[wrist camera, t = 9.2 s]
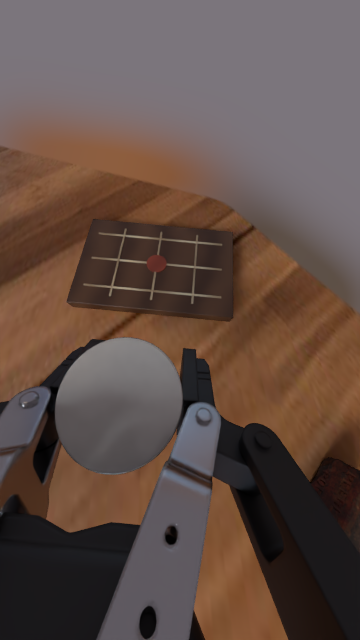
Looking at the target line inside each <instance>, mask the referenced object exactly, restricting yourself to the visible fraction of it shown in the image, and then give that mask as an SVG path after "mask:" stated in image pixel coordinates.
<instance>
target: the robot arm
mask: <svg viewBox="0 0 360 640" xmlns="http://www.w3.org/2000/svg"><path fill="white" fill-rule="evenodd" d="M104 341H106V340H97V339H92V340H90V341H89V343H88V344H87V345H86V346H85V347H80V348H78V349H77V350H75V351H73V352H72V353H71V354H70V355H69V356H68V357H67V358H66V360H64V361H63V362H62V363H61V365H59V366H58V367H57V368H56V369H55V370H54V371H53V373H52V374H51V375H50V376H49V377H48V378H47V379H46V380H45V381H44V382H43V383H42V384H41V385H40V386H37V387H32V388H28V389H26V390H24V391H22V392H20V393H18V394H17V395H15V396H14V397H13V398H12V399H11V400H10V401H6V402H0V640H205V638H204V636H203V633H202V630H201V628H200V625H199V623H198V620H197V617H196V615H195V612H194V603H195V597H196V590H197V584H198V578H199V571H200V565H201V558H202V552H203V545H204V539H205V532H206V526H207V520H208V513H209V507H210V500H211V493H212V476H213V477H215V478H217V479H219V480H221V481H223V482H225V483H227V484H229V486H230V489H231V491H232V494H233V496H234V499H235V502H236V504H237V507H238V509H239V512H240V515H241V517H242V520H243V523H244V525H245V528H246V530H247V533H248V536H249V538H250V541H251V543H252V546H253V549H254V551H255V554H256V556H257V559H258V562H259V564H260V567H261V569H262V572H263V575H264V577H265V580H266V582H267V585H268V588H269V590H270V593H271V595H272V598H273V601H274V603H275V606H276V608H277V611H278V614H279V616H280V619H281V621H282V624H283V627H284V629H285V632H286V634H287V637H288V640H360V553H359V552H358V550H357V549H356V548H355V546H354V545H353V543H352V542H351V540H350V539H349V538H348V536H347V535H346V533H345V532H344V530H343V529H342V528H341V526H340V525H339V523H338V522H337V520H336V519H335V518H334V516H333V515H332V513H331V512H330V511H329V509H328V508H327V506H326V505H325V503H324V502H323V501H322V499H321V498H320V496H319V495H318V493H317V492H316V491H315V489H314V488H313V486H312V485H311V483H310V482H309V481H308V479H307V478H306V476H305V475H304V473H303V472H302V471H301V469H300V468H299V466H298V465H297V463H296V462H295V461H294V459H293V458H292V456H291V455H290V454H289V452H288V451H287V449H286V448H285V446H284V445H283V444H282V442H281V441H280V439H279V438H278V437H277V435H276V434H275V433H274V432H273V431H272V430H270V429H269V428H268V427H266V426H264V425H261V424H258V423H251V424H248V425H247V426H246V427H245V428H243V427H240V426H238V425H235V424H233V423H231V422H229V421H227V420H225V419H224V418H223V417H222V416H221V415H220V414H219V412H218V411H217V409H216V407H215V403H214V396H213V389H212V383H211V376H210V370H209V365H208V364H207V362H206V361H205V359H198V358H196V349H186V348H183V354H182V363H181V371H180V381H181V385H182V393H183V405H182V412H181V417H180V420H179V424H178V426H177V435H178V436H177V438H176V441H175V444H174V447H173V449H172V452H171V455H170V457H169V459H168V461H166V462H165V464H164V466H163V468H162V471H161V473H160V476H159V478H158V481H157V484H156V486H155V489H154V491H153V494H152V497H151V499H150V502H149V504H148V507H147V510H146V512H145V515H144V517H143V520H142V523H141V525H133V524H123V523H112V522H111V523H107V524H103V525H99V526H96V527H92V528H88V529H84V530H81V531H77V532H72V533H69V532H66V531H64V530H63V529H61V528H59V527H58V526H56V525H54V524H53V523H51V522H49V521H47V520H46V517H47V512H48V506H49V488H50V483H51V480H52V476H53V473H54V469H55V466H56V462H57V459H58V455H59V452H60V448H61V445H62V443H61V441H60V439H59V436H58V433H57V429H56V423H55V404H56V398H57V394H58V390H59V388H60V385H61V382H62V380H63V378H64V376H65V375H66V373H67V371H68V370H69V368H70V367H71V366H72V365H73V363H74V362H75V361H76V360H77V359H78V358H79V357H80V356H81V355H82V354H83V353H85V352H86V351H87V350H89V349H90V348H92V347H93V346H95V345H97V344H99V343H101V342H104Z"/></svg>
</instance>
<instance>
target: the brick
mask: <svg viewBox="0 0 360 640" xmlns="http://www.w3.org/2000/svg"><path fill="white" fill-rule="evenodd" d="M311 485H312V486H313V488H314V489H315V491H316V492H317V493H318V495H319V496H320V498H321V499H322V501H323V502H324V503H325V505H326V506H327V508H328V509H329V511H330V512H331V513H332V515H333V516H334V518H335V519H336V520H337V522H338V523H339V525H340V526H341V528H342V529H343V530H344V532H345V533H346V535H347V536H348V538H349V539H350V540H351V542H352V543H353V545H354V546H355V548H356V549H357V550H358V552H359V553H360V471H359V470H357V469H355V468H354V467H351V466H350V465H348V464H345V463H344V462H343V461H341V460H339V459H333V458H330V457H328V458H327V459H325V460H324V461H323V462H322V465H321V466H320V468H319V471H318V473H317V476H316V477H315V478H314V480H313V481H312V482H311Z"/></svg>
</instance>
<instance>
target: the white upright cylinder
mask: <svg viewBox="0 0 360 640" xmlns="http://www.w3.org/2000/svg"><path fill="white" fill-rule="evenodd" d="M182 405H183V393H182V385H181V381H180V377H179V375H178V372H177V370H176V368H175V366H174V364H173V363H172V361H171V360H170V358H169V357H168V356H167V355H166V354H165V353H164V352H163V351H162V350H161V349H159V348H158V347H157V346H155V345H153V344H151V343H149V342H147V341H144V340H141V339H137V338H129V337H122V338H115V339H110V340H107V341H104V342H101V343H99V344H97V345H95V346H93V347H92V348H90V349H89V350H87V351H86V352H85V353H83V354H82V355H81V356H80V357H79V358H78V359H77V360H76V361H75V362H74V363H73V365H72V366H71V367H70V368H69V370H68V371H67V373H66V375H65V376H64V378H63V380H62V382H61V385H60V388H59V390H58V394H57V398H56V404H55V423H56V429H57V433H58V436H59V439H60V441H61V443H62V445H63V447H64V448H65V450H66V452H67V453H68V454H69V455H70V456H71V458H72V459H73V460H74V461H76V462H77V463H78V464H79V465H81V466H83V467H84V468H86V469H88V470H90V471H93V472H96V473H101V474H109V475H116V474H123V473H128V472H131V471H134V470H136V469H139V468H141V467H143V466H144V465H146V464H148V463H149V462H151V461H152V460H153V459H154V458H156V457H157V456H158V455H159V454H160V453H161V452H162V451H163V450H164V448H165V447H166V446H167V444H168V443H169V442H170V440H171V439H172V437H173V435H174V433H175V431H176V429H177V426H178V424H179V420H180V417H181V412H182Z"/></svg>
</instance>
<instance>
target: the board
mask: <svg viewBox="0 0 360 640" xmlns="http://www.w3.org/2000/svg"><path fill="white" fill-rule="evenodd" d="M66 302H67V303H69V304H70V305H71V306H73V307H82V308H93V309H103V310H114V311H124V312H135V313H145V314H156V315H167V316H177V317H188V318H198V319H209V320H219V321H230V320H231V319H232V318H233V232H227V231H216V230H205V229H195V228H184V227H173V226H162V225H152V224H141V223H130V222H119V221H109V220H98V219H93V221H92V224H91V227H90V230H89V233H88V236H87V239H86V242H85V245H84V248H83V252H82V255H81V258H80V261H79V264H78V267H77V270H76V273H75V276H74V279H73V283H72V286H71V289H70V292H69V295H68V298H67V301H66Z"/></svg>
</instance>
